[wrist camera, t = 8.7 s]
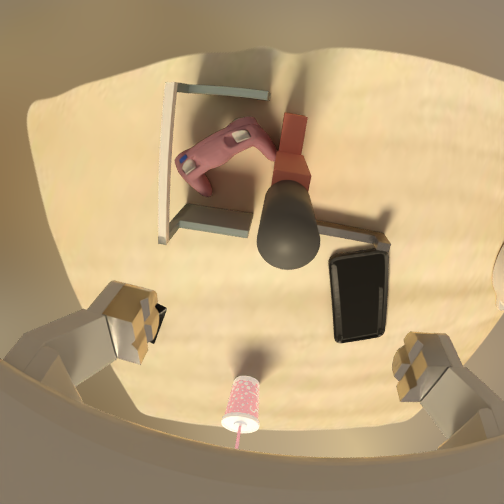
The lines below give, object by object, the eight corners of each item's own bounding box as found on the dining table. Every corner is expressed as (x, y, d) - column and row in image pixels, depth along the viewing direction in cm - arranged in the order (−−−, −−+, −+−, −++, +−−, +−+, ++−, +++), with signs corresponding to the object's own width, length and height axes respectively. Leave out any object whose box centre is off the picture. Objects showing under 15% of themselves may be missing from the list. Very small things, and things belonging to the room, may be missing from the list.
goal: (270, 93, 28) (265, 88, 20) (252, 219, 35) (242, 257, 27) (196, 86, 28) (165, 82, 20) (186, 209, 35) (158, 243, 27)
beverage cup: (264, 393, 50) (257, 459, 38) (232, 392, 51) (219, 456, 39) (262, 373, 48) (254, 445, 35) (227, 372, 48) (212, 441, 36)
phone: (334, 344, 42) (328, 258, 35) (334, 339, 43) (327, 253, 36) (384, 336, 40) (389, 249, 34) (383, 331, 41) (387, 245, 35)
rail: (383, 233, 34) (390, 244, 31) (381, 240, 34) (388, 251, 31) (271, 212, 34) (269, 222, 31) (269, 220, 34) (268, 230, 32)
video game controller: (266, 125, 31) (245, 101, 24) (284, 159, 31) (266, 141, 24) (193, 167, 34) (159, 155, 27) (207, 200, 34) (174, 194, 27)
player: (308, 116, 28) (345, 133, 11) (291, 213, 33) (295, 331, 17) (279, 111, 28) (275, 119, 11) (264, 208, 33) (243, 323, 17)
